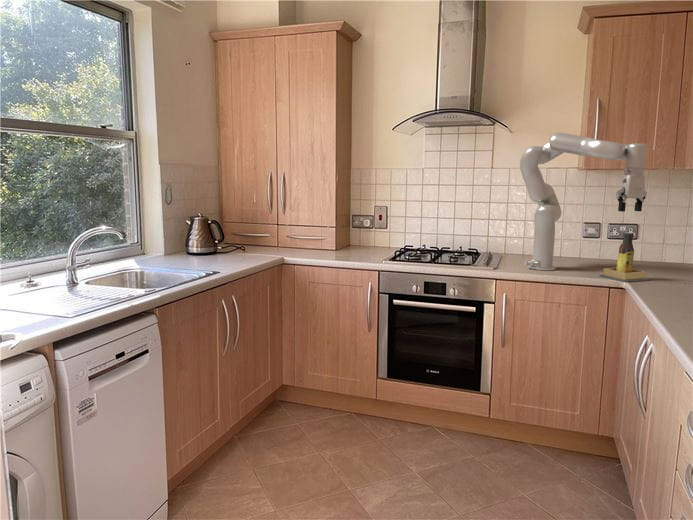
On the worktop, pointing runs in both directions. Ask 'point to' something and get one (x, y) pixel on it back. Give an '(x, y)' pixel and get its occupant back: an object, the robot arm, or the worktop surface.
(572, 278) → the worktop surface
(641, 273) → the yellow square tray
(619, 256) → the sauce bottle
